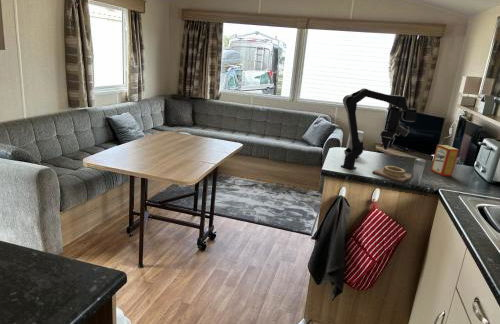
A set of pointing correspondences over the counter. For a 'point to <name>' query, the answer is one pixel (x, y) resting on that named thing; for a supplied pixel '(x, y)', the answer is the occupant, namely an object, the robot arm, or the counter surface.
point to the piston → (417, 172)
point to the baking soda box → (444, 160)
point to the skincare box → (360, 135)
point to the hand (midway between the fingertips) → (387, 148)
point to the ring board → (393, 173)
